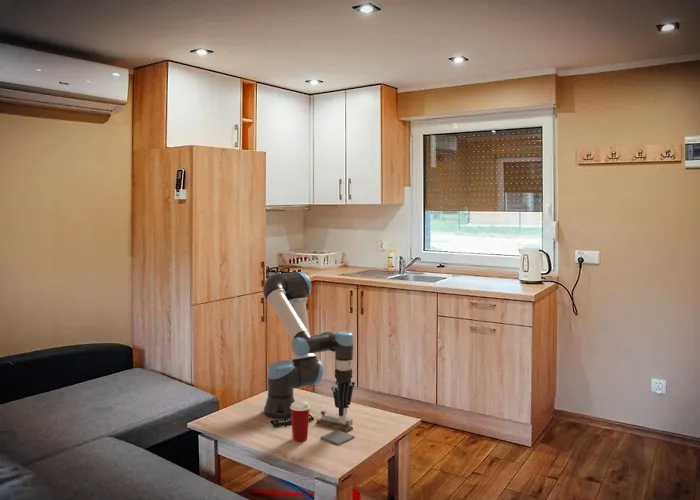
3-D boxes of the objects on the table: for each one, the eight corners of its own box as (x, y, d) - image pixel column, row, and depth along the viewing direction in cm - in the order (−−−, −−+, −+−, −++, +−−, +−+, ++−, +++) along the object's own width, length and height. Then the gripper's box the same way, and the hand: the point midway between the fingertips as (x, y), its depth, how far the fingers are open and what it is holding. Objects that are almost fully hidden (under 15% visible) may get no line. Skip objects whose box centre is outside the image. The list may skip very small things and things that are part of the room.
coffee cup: (314, 439, 237) (314, 403, 236) (299, 445, 231) (299, 409, 230) (300, 433, 243) (300, 398, 241) (285, 439, 237) (285, 403, 235)
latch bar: (319, 419, 255) (319, 412, 254) (322, 417, 257) (323, 410, 257) (349, 426, 247) (349, 419, 247) (352, 424, 250) (352, 417, 249)
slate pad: (320, 438, 238) (320, 436, 238) (336, 431, 245) (336, 429, 245) (338, 445, 231) (339, 443, 231) (354, 437, 239) (354, 435, 239)
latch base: (316, 422, 255) (316, 419, 255) (323, 419, 258) (323, 416, 258) (346, 432, 244) (346, 429, 244) (352, 429, 248) (352, 426, 248)
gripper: (340, 373, 238) (339, 429, 240) (360, 367, 248) (358, 420, 250) (327, 369, 243) (325, 424, 245) (346, 364, 253) (345, 416, 255)
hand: (342, 422), depth 247 cm, fingers closed
